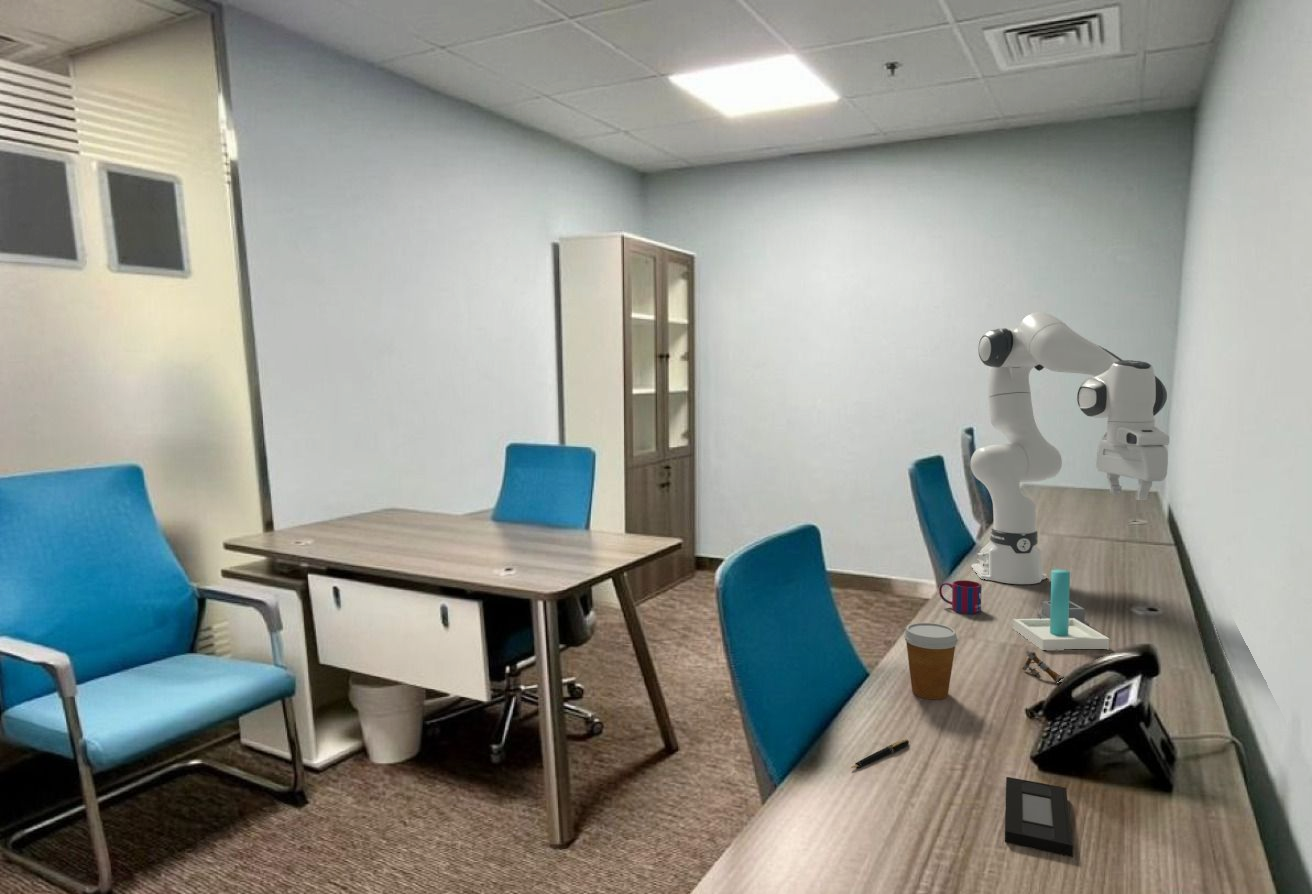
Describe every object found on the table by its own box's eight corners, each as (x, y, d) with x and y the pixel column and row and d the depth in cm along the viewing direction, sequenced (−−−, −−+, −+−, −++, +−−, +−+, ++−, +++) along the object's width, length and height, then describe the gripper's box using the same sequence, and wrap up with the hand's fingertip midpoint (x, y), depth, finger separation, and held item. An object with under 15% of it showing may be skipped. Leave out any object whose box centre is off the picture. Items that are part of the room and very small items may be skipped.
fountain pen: (853, 774, 113) (852, 764, 113) (846, 771, 114) (846, 761, 114) (912, 746, 121) (912, 736, 121) (906, 743, 122) (906, 734, 122)
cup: (975, 616, 186) (975, 588, 185) (935, 608, 192) (935, 582, 192) (985, 609, 191) (985, 583, 190) (945, 602, 197) (945, 576, 197)
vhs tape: (1004, 846, 96) (1004, 831, 95) (1006, 790, 108) (1006, 776, 108) (1072, 861, 92) (1072, 845, 92) (1065, 801, 105) (1066, 787, 105)
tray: (1012, 629, 175) (1012, 619, 175) (1073, 628, 175) (1074, 618, 175) (1042, 650, 162) (1042, 639, 161) (1109, 649, 161) (1109, 638, 161)
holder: (1037, 616, 184) (1037, 600, 184) (1070, 616, 184) (1071, 599, 184) (1054, 627, 176) (1054, 610, 176) (1088, 626, 176) (1089, 609, 176)
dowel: (1046, 631, 170) (1048, 569, 169) (1063, 630, 170) (1064, 569, 169) (1055, 636, 167) (1056, 573, 165) (1071, 636, 166) (1073, 573, 165)
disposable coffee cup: (892, 687, 144) (892, 625, 143) (933, 679, 147) (933, 619, 146) (926, 707, 135) (927, 641, 134) (969, 698, 138) (970, 634, 137)
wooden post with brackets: (1022, 664, 152) (1031, 647, 150) (1056, 693, 146) (1066, 675, 144) (1016, 666, 151) (1025, 648, 149) (1050, 695, 145) (1060, 677, 143)
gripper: (1089, 431, 178) (1087, 490, 179) (1144, 438, 157) (1141, 504, 158) (1116, 431, 178) (1114, 489, 179) (1175, 437, 157) (1172, 503, 158)
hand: (1128, 496), depth 168 cm, fingers open, 8 cm apart
